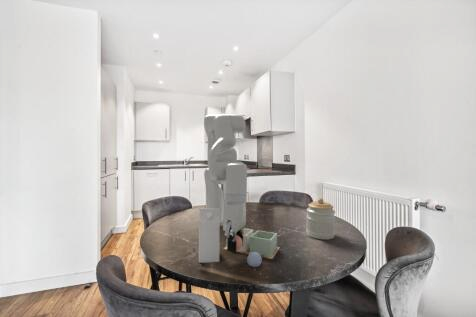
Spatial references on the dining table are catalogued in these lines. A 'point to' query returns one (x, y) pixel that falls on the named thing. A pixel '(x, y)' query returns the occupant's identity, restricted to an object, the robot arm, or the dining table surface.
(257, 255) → the slate ball
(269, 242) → the sage cup
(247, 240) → the cream cup
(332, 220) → the jar
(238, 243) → the coral ball
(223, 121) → the robot arm
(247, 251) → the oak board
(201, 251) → the milk carton
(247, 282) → the dining table surface
